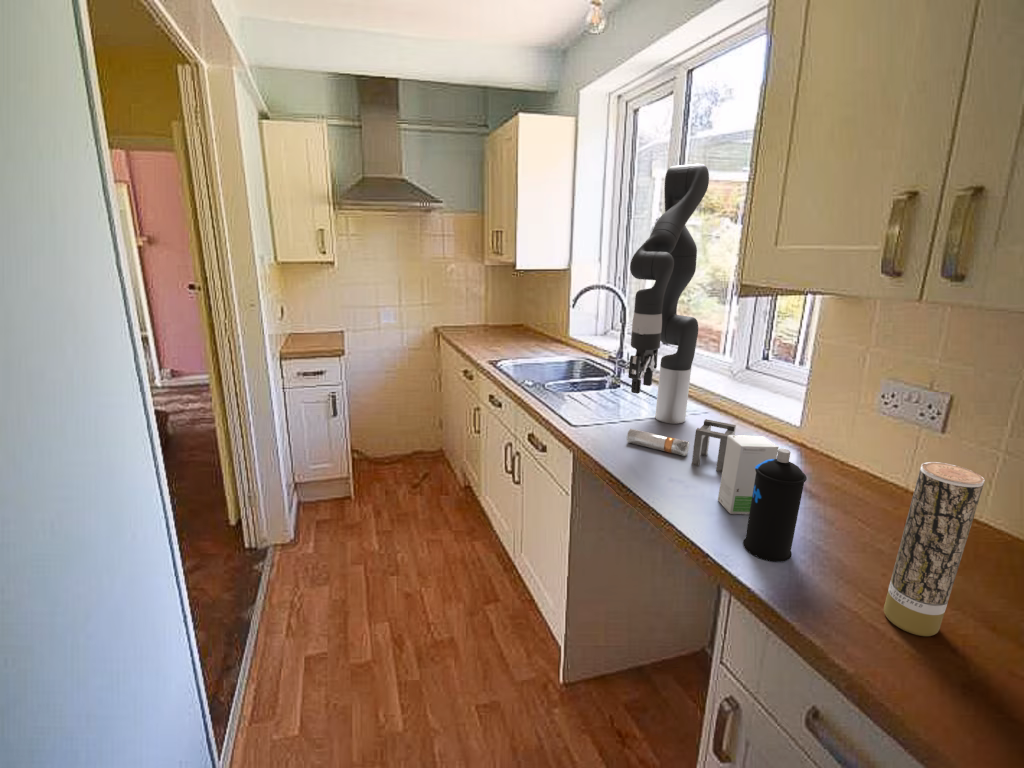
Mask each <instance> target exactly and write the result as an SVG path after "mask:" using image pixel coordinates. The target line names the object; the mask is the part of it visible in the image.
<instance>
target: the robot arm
mask: <svg viewBox="0 0 1024 768" xmlns="http://www.w3.org/2000/svg"><path fill="white" fill-rule="evenodd" d="M664 178H665V179H664V213H663V214H662V215H661V216H660V217H659V218H658V219H657V221H656V223H655V225H654V227H653V229H652V231H651V233H650V235H649V237H648V238H647V239H646V240H645V241H644V242H643V244H641V246H640V247H639V248H638V249H637V250H636V251H635V253H634V254H633V256H632V258H631V260H630V264H629V271H630V274H631V275H632V276H633V278H635V279H636V280H643V281H645V280H647V281H655V282H654V284H653V286H652V287H650V288H642V289H639V290H637V291H636V292H635V298H634V312H633V316H632V324H631V337H630V338H631V339H630V347H631V348H633V349H635V350H636V351H635V355H630V357H629V367H628V379H631V390H630V391H631V393H633V394H638V395H639V394H640V393H641V384H642V383H643V385H644V386H647V387H648V386H649V387H651V386H652V384H653V373H654V372H655V370H657V367H658V355H659V354H658V353H659V349H660V347H661V343H663V344H666V345H672V346H676V347H677V351H676V352H675V353H673V354H672V353H671V354H668V355H663V356H662V357H661V358H660V366H659V376H658V386H657V396H656V407H655V419H656V420H657V421H659V422H662V423H665V424H671V425H673V424H675V425H676V424H677V425H678V424H683V423H685V421H686V417H687V408H688V401H689V390H690V384H691V383H690V382H691V374H692V373H691V372H692V366H693V365H692V364H693V361H694V359H695V354H696V353H695V352H696V346H697V342H698V336H699V322H698V320H697V319H696V317H693V316H688V315H681V314H677V309H678V304H679V299H680V297H681V296H682V294H683V292H684V290H685V289H686V288H687V287H688V285H689V284H690V282H691V280H692V279H693V277H694V275H695V273H696V269H697V259H698V258H697V257H698V256H697V254H698V249H697V248H698V247H697V244H696V242H695V240H694V238H693V236H692V234H691V233H690V231H689V229H688V228H687V225H686V224H687V222H688V221H689V219H690V218H691V216H692V215H693V214H694V212H695V211H696V209H697V208H698V206H699V205H700V203H702V200H703V199H704V198H705V195H706V193H707V191H708V189H709V182H710V174H709V168H708V167H707V166H706V165H705V164H703V163H693V164H682V165H681V164H680V165H672V166H670V167H669V168H667V170H666V173H665V177H664ZM642 378H643V382H642Z"/></svg>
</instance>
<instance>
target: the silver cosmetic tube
mask: <svg viewBox="0 0 1024 768" xmlns="http://www.w3.org/2000/svg"><path fill="white" fill-rule="evenodd" d="M626 442H627V443H630V444H633V445H637V446H641V447H646V448H648V449H649V448H650V449H654V450H658V451H663V452H665V453H669V454H675V455H679V456H683V457H687V455H688V454H689V449H690V442H689V440H685V439H684V440H683V439H679V438H675V437H671V436H665V435H662V434H661V435H660V434H656V433H653V432H648V431H643V430H639V429H633V428H630V429H629V430H628V431H627V435H626Z"/></svg>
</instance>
